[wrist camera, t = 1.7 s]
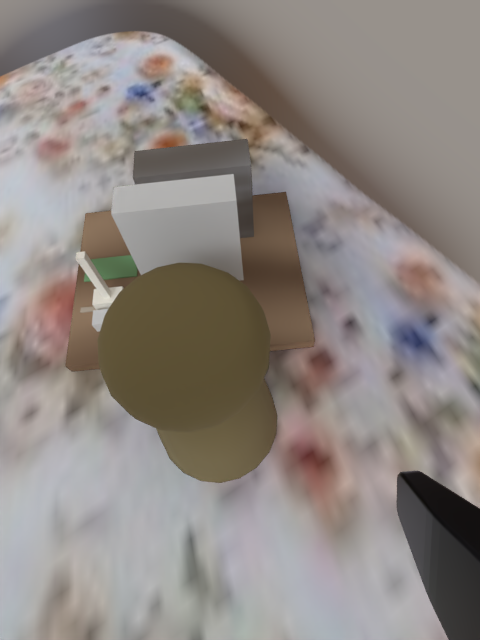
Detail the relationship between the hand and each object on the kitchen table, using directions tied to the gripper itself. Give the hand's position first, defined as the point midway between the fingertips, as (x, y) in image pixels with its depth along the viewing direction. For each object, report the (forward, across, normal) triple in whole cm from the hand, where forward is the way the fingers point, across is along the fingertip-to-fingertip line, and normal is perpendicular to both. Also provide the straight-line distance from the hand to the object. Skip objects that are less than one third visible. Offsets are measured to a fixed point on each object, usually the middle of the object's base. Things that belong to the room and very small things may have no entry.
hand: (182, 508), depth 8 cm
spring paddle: (+14, +2, 0) cm, 14 cm away
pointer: (+15, +6, -1) cm, 16 cm away
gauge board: (+18, +2, -2) cm, 18 cm away
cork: (+12, 0, +5) cm, 12 cm away
